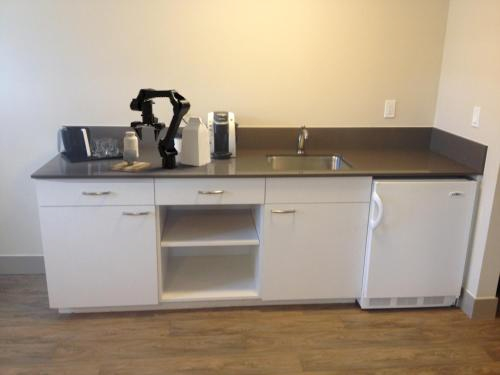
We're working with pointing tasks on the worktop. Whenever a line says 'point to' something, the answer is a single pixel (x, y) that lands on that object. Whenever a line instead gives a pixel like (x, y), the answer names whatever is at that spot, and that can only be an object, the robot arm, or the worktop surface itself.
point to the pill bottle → (131, 142)
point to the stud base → (130, 166)
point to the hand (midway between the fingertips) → (148, 140)
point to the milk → (195, 143)
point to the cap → (130, 155)
